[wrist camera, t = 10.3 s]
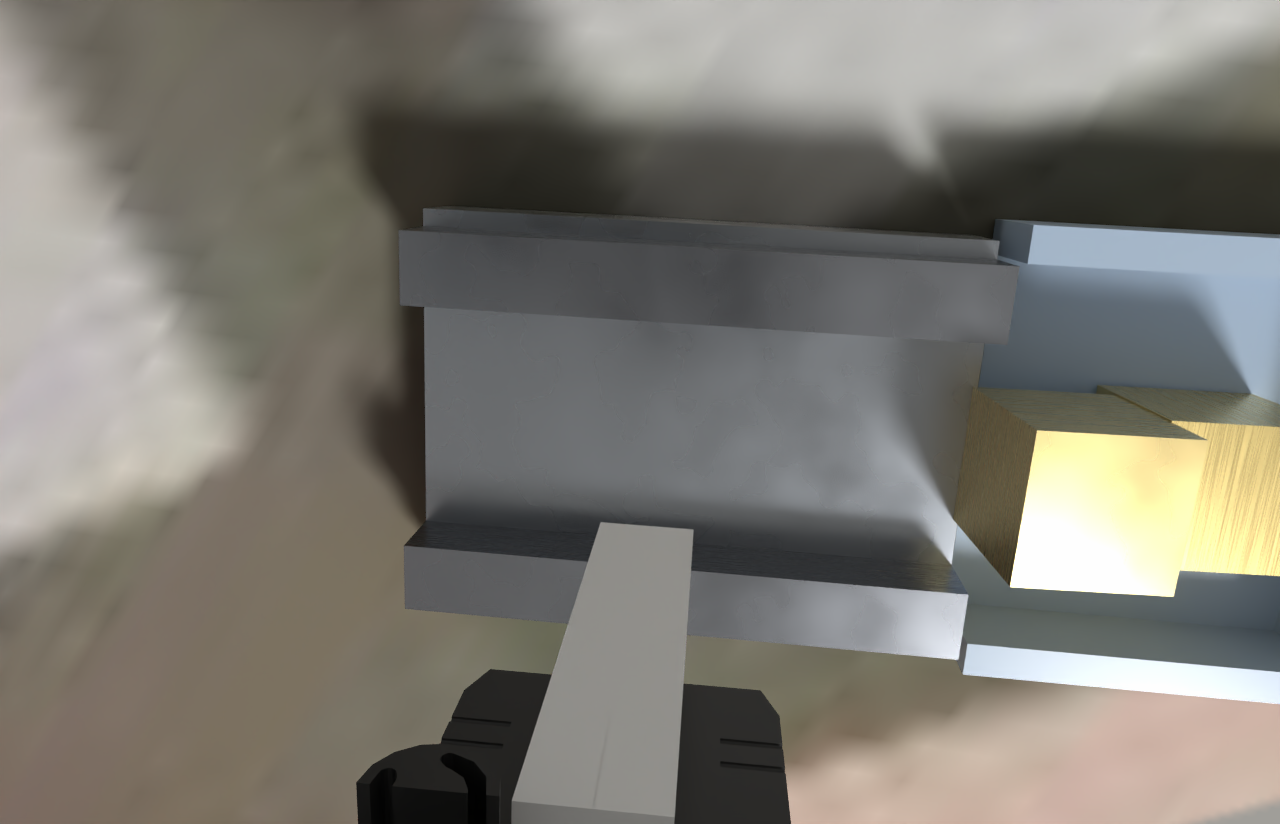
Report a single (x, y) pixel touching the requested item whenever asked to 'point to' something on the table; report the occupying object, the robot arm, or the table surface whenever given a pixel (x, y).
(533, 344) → the slotted deck
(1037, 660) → the tray
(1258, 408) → the brass block
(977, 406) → the brass block
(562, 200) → the table surface
